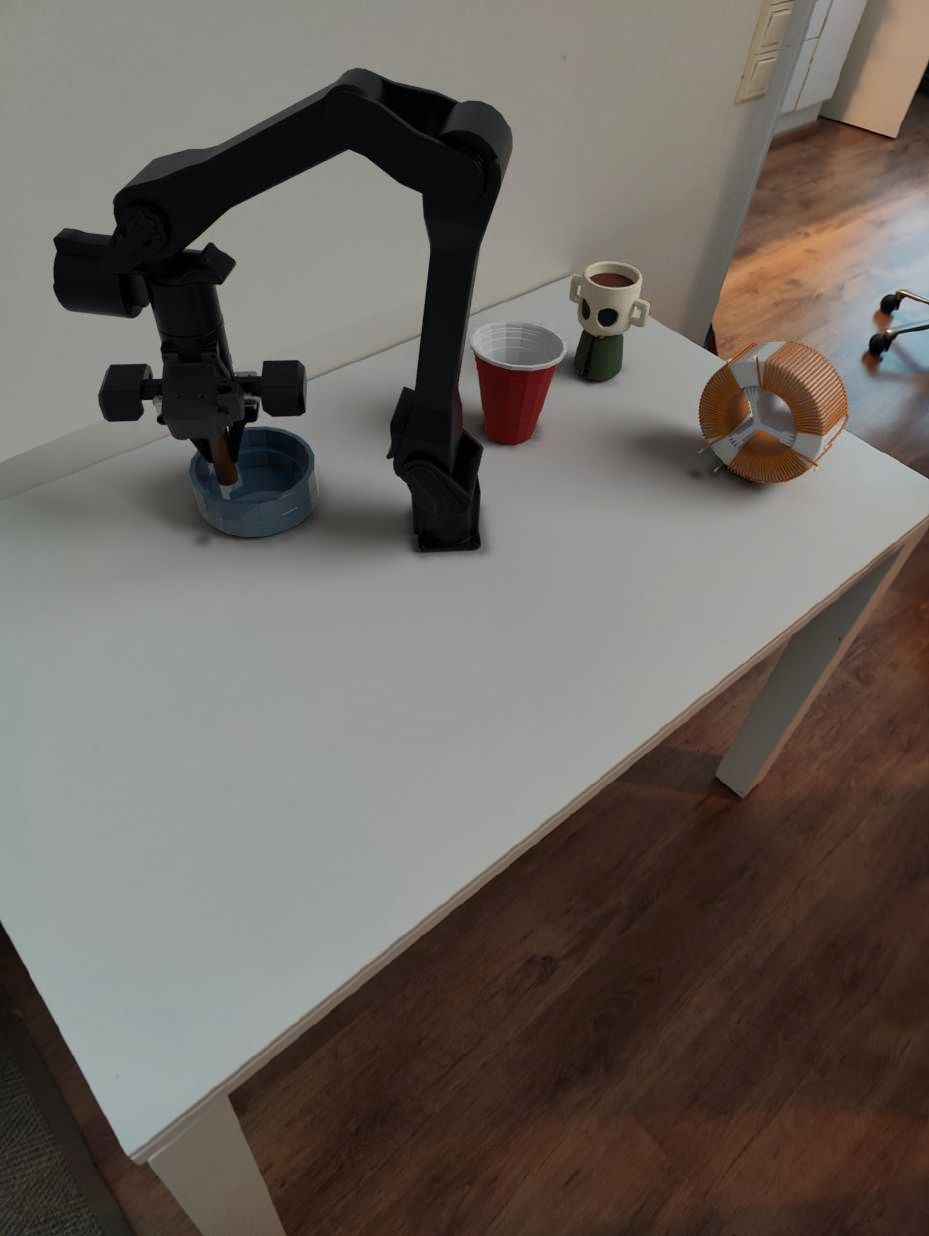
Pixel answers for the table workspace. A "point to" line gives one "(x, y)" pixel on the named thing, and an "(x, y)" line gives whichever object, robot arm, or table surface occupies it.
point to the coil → (773, 411)
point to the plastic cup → (514, 375)
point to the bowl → (259, 485)
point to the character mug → (606, 315)
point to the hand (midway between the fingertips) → (223, 460)
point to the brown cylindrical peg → (223, 460)
